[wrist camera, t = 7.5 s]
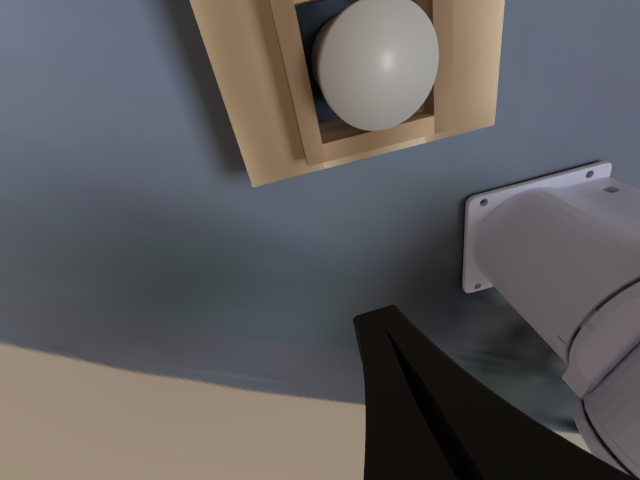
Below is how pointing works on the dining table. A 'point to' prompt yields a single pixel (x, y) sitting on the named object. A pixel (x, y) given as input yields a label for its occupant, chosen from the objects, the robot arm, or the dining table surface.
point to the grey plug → (376, 62)
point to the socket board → (296, 95)
